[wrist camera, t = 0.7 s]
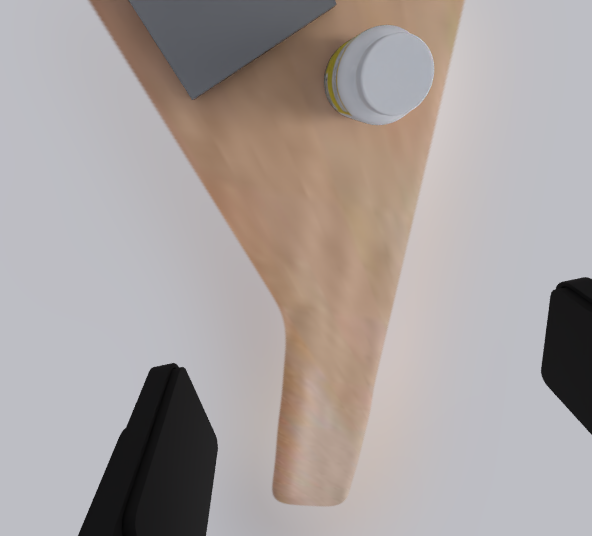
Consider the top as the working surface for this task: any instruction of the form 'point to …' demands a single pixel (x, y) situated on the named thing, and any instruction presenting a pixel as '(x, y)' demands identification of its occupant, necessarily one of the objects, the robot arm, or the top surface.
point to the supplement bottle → (379, 75)
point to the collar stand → (221, 33)
